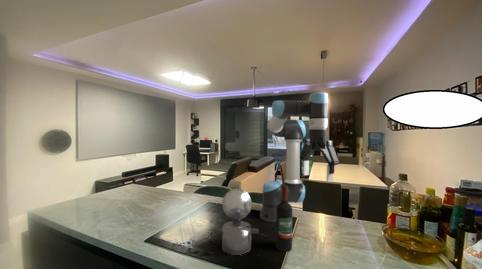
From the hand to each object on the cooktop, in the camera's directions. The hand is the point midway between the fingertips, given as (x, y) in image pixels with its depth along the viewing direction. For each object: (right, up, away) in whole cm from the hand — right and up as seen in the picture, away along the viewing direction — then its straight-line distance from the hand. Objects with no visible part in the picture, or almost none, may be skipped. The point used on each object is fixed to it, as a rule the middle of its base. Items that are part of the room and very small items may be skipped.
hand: (317, 178), depth 91 cm
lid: (-35, -18, +20) cm, 44 cm away
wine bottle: (-12, -36, +11) cm, 40 cm away
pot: (-35, -36, +11) cm, 51 cm away
